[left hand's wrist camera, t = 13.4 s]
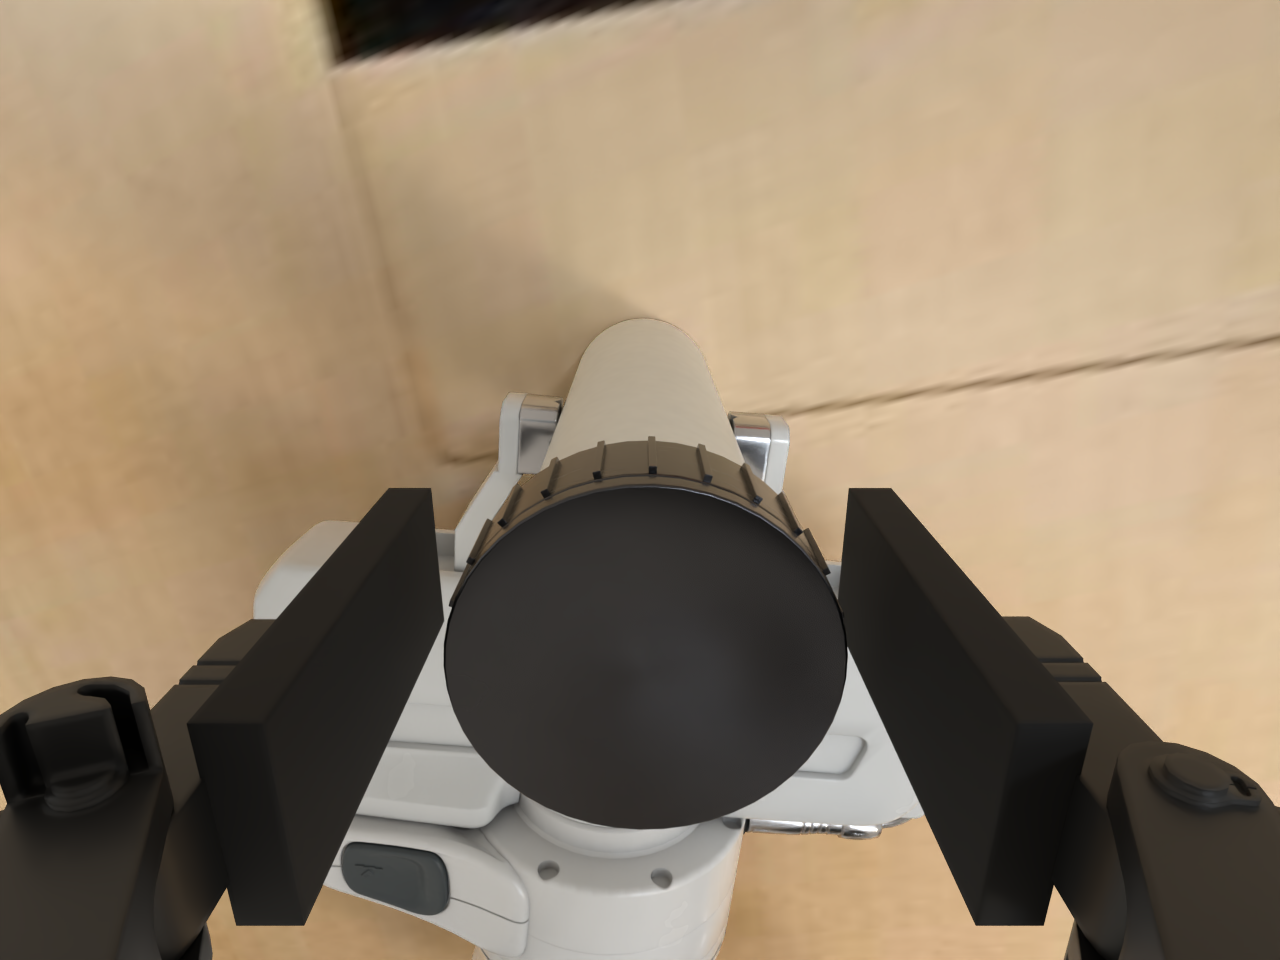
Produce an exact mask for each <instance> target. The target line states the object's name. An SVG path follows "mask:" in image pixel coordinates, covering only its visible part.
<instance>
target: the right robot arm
mask: <svg viewBox="0 0 1280 960" xmlns="http://www.w3.org/2000/svg"><path fill="white" fill-rule="evenodd" d="M562 410H563V398H562V397H554V396H544V395H535V394H527V393H513V392H509V393H508V395H507V396H506V398H505V399H504V401H503V403H502V408H501V414H500V423H499V460H498V461H497V462H496V464H495V465H494V467H493V468H492V470H491V471H490V473H489V474H488V476H487V477H486V479H485V480H484V482H483V483H482V485H481V486H480V488H479V489H478V491H477V492H476V494H475V495H474V497H473V498H472V500H471V502H470V503H469V505H468V507H467V509H466V510H465V512H464V514H463V516H462V518H461V519H460V521H459V523H458V525H457V527H456V528H455V530H447V529H435V533H436V542H437V552H438V562H439V572H440V582H441V592H442V602H443V612H444V623H443V625H442V627H441V629H440V632H439V634H438V636H437V638H436V640H435V642H434V645H433V647H432V649H431V651H430V653H429V656H428V658H427V660H426V662H425V664H424V666H423V669H422V671H421V673H420V675H419V677H418V679H417V682H416V684H415V686H414V688H413V690H412V692H411V695H410V697H409V699H408V701H407V703H406V705H405V708H404V710H403V712H402V714H401V716H400V718H399V721H398V723H397V725H396V727H395V729H394V732H393V734H392V736H391V738H390V740H389V742H388V745H387V747H386V749H385V751H384V753H383V755H382V758H381V760H380V762H379V764H378V766H377V768H376V771H375V773H374V775H373V777H372V779H371V781H370V784H369V786H368V788H367V790H366V792H365V794H364V797H363V799H362V801H361V803H360V805H359V808H358V810H357V812H356V814H355V816H354V818H353V821H352V823H351V825H350V827H349V829H348V831H347V834H346V836H345V838H344V840H343V842H342V844H341V847H340V849H339V851H338V853H337V855H336V857H335V860H334V862H333V864H332V866H331V868H330V870H329V873H328V875H327V877H326V879H325V881H324V883H323V885H324V886H327V887H329V888H331V889H334V890H337V891H340V892H343V893H346V894H349V895H353V896H356V897H359V898H362V899H366V900H369V901H372V902H375V903H378V904H381V905H384V906H387V907H390V908H393V909H396V910H398V911H401V912H404V913H407V914H410V915H412V916H415V917H417V918H420V919H422V920H425V921H427V922H430V923H432V924H434V925H436V926H438V927H441V928H443V929H445V930H447V931H449V932H451V933H453V934H455V935H457V936H459V937H461V938H463V939H465V940H467V941H468V942H470V943H472V944H474V945H476V946H475V949H474V953H473V956H472V959H471V960H716V958H717V956H718V953H719V951H720V948H721V945H722V942H723V940H724V937H725V932H726V927H727V922H728V917H729V911H730V906H731V900H732V894H733V889H734V883H735V877H736V872H737V865H738V860H739V855H740V849H741V843H742V837H743V834H744V833H745V832H753V833H766V834H780V835H800V834H801V835H807V834H826V835H837V836H838V837H839V838H844V839H851V840H866V839H873V838H878V837H879V836H880V834H881V832H882V828H890V827H894V826H898V825H901V824H903V823H905V822H907V821H909V820H911V819H916V818H920V817H922V816H923V815H924V812H923V810H922V808H921V805H920V803H919V801H918V799H917V797H916V794H915V792H914V790H913V788H912V786H911V784H910V781H909V779H908V777H907V775H906V773H905V771H904V768H903V766H902V764H901V762H900V760H899V758H898V755H897V753H896V751H895V749H894V747H893V745H892V742H891V740H890V738H889V736H888V734H887V732H886V729H885V727H884V725H883V723H882V721H881V718H880V716H879V714H878V712H877V710H876V708H875V705H874V703H873V701H872V699H871V697H870V695H869V692H868V690H867V688H866V686H865V684H864V682H863V679H862V677H861V675H860V673H859V671H858V669H857V666H856V664H855V662H854V660H853V658H852V656H851V653H850V651H849V649H848V647H847V649H848V662H847V676H846V682H845V686H844V691H843V695H842V699H841V702H840V705H839V708H838V710H837V713H836V715H835V718H834V720H833V723H832V724H831V726H830V728H829V730H828V732H827V733H826V735H825V737H824V739H823V740H822V742H821V743H820V745H819V746H818V747H817V749H816V750H815V751H814V753H813V754H812V755H811V757H810V758H809V759H808V760H807V761H806V762H805V763H804V764H803V765H802V766H801V767H800V768H799V769H798V771H797V772H796V773H795V774H794V775H793V776H791V777H790V778H789V779H788V780H786V781H785V782H784V783H783V784H781V785H780V786H779V787H778V788H776V789H775V790H774V791H772V792H771V793H769V794H767V795H766V796H764V797H763V798H761V799H759V800H758V801H756V802H755V803H753V804H750V805H748V806H746V807H744V808H742V809H740V810H738V811H736V812H734V813H731V814H728V815H725V816H722V817H719V818H717V819H714V820H711V821H707V822H703V823H698V824H694V825H690V826H684V827H676V828H668V829H649V830H636V829H623V828H613V827H607V826H602V825H596V824H591V823H588V822H584V821H581V820H577V819H574V818H571V817H568V816H565V815H563V814H560V813H558V812H555V811H553V810H551V809H548V808H546V807H544V806H542V805H540V804H539V803H537V802H535V801H533V800H531V799H530V798H528V797H526V796H525V795H523V794H522V793H520V792H519V791H517V790H516V789H515V788H513V787H512V786H510V785H509V784H508V783H506V782H505V781H504V780H503V779H502V778H501V777H500V776H499V775H498V774H496V773H495V772H494V771H493V770H492V769H491V768H490V767H489V766H488V765H487V764H486V762H485V761H484V760H483V759H482V758H481V757H480V755H479V754H478V753H477V752H476V751H475V749H474V748H473V746H472V745H471V743H470V741H469V740H468V738H467V737H466V735H465V734H464V732H463V730H462V728H461V726H460V724H459V722H458V720H457V718H456V715H455V713H454V711H453V708H452V704H451V701H450V698H449V694H448V691H447V687H446V680H445V673H444V666H443V665H444V639H445V633H446V627H447V621H448V618H449V615H450V612H451V609H452V607H449V602H450V599H451V597H452V595H453V593H454V591H455V589H456V586H457V584H458V582H459V580H460V578H461V576H462V574H463V572H464V569H465V567H466V565H467V563H466V561H467V559H468V556H469V554H470V552H471V550H472V548H473V546H474V544H475V542H476V540H477V538H478V535H479V533H480V531H481V529H482V527H483V525H484V523H485V521H486V520H487V518H488V519H490V520H493V519H494V517H495V516H496V514H497V513H498V511H499V510H500V509H501V507H502V506H503V503H504V502H505V500H506V499H507V497H508V496H509V494H510V492H511V490H512V488H513V487H514V486H515V485H516V484H517V482H518V481H519V479H520V478H521V476H522V475H523V474H537V473H539V472H540V470H541V467H542V465H543V462H544V459H545V456H546V454H547V451H548V448H549V445H550V443H551V440H552V437H553V435H554V432H555V429H556V426H557V424H558V421H559V418H560V415H561V413H562ZM728 420H729V422H730V425H731V428H732V430H733V433H734V435H735V438H736V441H737V443H738V446H739V448H740V451H741V454H742V456H743V459H744V461H745V463H746V464H748V465H750V467H751V470H752V472H753V474H754V475H756V476H757V477H758V478H760V479H761V480H763V481H764V482H765V483H766V484H767V485H768V486H769V487H770V488H771V489H772V490H774V491H775V492H776V493H777V494H779V493H781V492H783V493H784V491H783V489H782V487H783V481H784V475H785V469H786V463H787V456H788V450H789V444H790V430H789V426H788V424H787V423H786V421H785V420H784V418H783V416H780V415H768V414H757V413H743V412H729V414H728ZM784 494H785V493H784ZM358 523H359V522H351V521H339V520H326V521H322V522H320V523H317V524H316V525H314V526H313V527H312V528H310V529H309V530H308V531H307V532H306V533H305V534H304V535H302V536H301V537H300V538H299V539H298V540H297V541H295V542H294V543H293V544H292V545H291V546H290V547H289V548H288V549H287V550H286V551H285V552H284V553H283V554H282V555H281V556H280V557H279V558H278V559H277V560H276V562H275V563H274V564H273V565H272V566H271V567H270V569H269V570H268V571H267V572H266V574H265V575H264V577H263V578H262V580H261V582H260V584H259V585H258V588H257V590H256V593H255V597H254V604H253V619H277V618H278V616H279V615H280V614H281V613H282V612H283V611H284V609H285V608H286V607H287V606H288V605H289V604H290V603H291V601H292V600H293V599H294V598H295V597H296V596H297V594H298V593H299V592H300V591H301V590H302V589H303V587H304V586H305V585H306V584H307V583H308V582H309V580H310V579H311V578H312V577H313V576H314V575H315V573H316V572H317V571H318V570H319V569H320V568H321V566H322V565H323V564H324V563H325V562H326V561H327V559H328V558H329V557H330V556H331V555H332V554H333V553H334V551H335V550H336V549H337V548H338V547H339V546H340V544H341V543H342V542H343V541H344V540H345V539H346V537H347V536H348V535H349V534H350V533H351V532H352V530H353V529H354V528H355V527H356V526H357V525H358ZM825 562H826V564H827V566H828V568H829V570H830V572H831V573H830V574H828V575H826V577H827V579H828V581H829V583H830V585H831V587H832V589H833V591H834V593H835V595H836V597H837V599H838V592H839V582H840V572H841V562H840V561H828V560H825Z"/></svg>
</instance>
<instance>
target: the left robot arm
mask: <svg viewBox="0 0 1280 960" xmlns="http://www.w3.org/2000/svg"><path fill="white" fill-rule="evenodd" d="M838 601H839V603H840V606H841V608H842V610H843V612H844V618H843V621H844V626H845V630H846V637H847V647H848V649H849V651H850V653H851V656H852V658H853V660H854V662H855V664H856V666H857V669H858V671H859V673H860V675H861V677H862V679H863V682H864V684H865V686H866V688H867V690H868V692H869V695H870V697H871V699H872V701H873V703H874V705H875V708H876V710H877V712H878V714H879V716H880V718H881V721H882V723H883V725H884V727H885V729H886V732H887V734H888V736H889V738H890V740H891V742H892V745H893V747H894V749H895V751H896V753H897V755H898V758H899V760H900V762H901V764H902V766H903V768H904V771H905V773H906V775H907V777H908V779H909V781H910V784H911V786H912V788H913V790H914V792H915V794H916V797H917V799H918V801H919V803H920V805H921V808H922V810H923V812H924V814H925V816H926V818H927V821H928V823H929V825H930V827H931V829H932V831H933V834H934V836H935V838H936V840H937V842H938V844H939V847H940V849H941V851H942V853H943V855H944V857H945V860H946V862H947V864H948V866H949V868H950V870H951V873H952V875H953V877H954V879H955V881H956V884H957V886H958V888H959V890H960V892H961V894H962V897H963V899H964V901H965V903H966V905H967V907H968V910H969V912H970V914H971V916H972V918H973V920H974V923H975V925H976V926H1044V922H1045V918H1046V914H1047V910H1048V906H1049V902H1050V898H1051V894H1052V890H1053V886H1055V887H1056V889H1057V891H1058V892H1059V894H1060V896H1061V897H1062V899H1063V900H1064V902H1065V904H1066V905H1067V907H1068V909H1069V910H1070V912H1071V914H1072V915H1073V917H1074V923H1073V927H1072V931H1071V934H1070V938H1069V942H1068V946H1067V950H1066V953H1065V957H1064V960H1280V807H1277V806H1274V804H1273V802H1272V801H1271V800H1270V798H1269V797H1268V796H1267V795H1266V793H1265V792H1264V791H1263V789H1262V788H1261V787H1260V786H1259V784H1258V783H1256V782H1255V781H1253V780H1252V779H1251V778H1249V777H1248V776H1247V775H1245V774H1244V773H1243V772H1241V771H1240V770H1239V769H1237V768H1236V767H1235V766H1233V765H1231V764H1229V763H1227V762H1225V761H1223V760H1221V759H1219V758H1217V757H1215V756H1213V755H1210V754H1208V753H1206V752H1203V751H1200V750H1197V749H1193V748H1190V747H1187V746H1184V745H1180V744H1177V743H1168V742H1163V741H1162V740H1161V739H1160V738H1159V737H1158V736H1157V735H1156V734H1155V733H1154V732H1153V731H1152V730H1151V729H1150V727H1149V726H1148V725H1147V724H1146V723H1145V722H1144V721H1143V720H1142V719H1141V718H1140V717H1139V716H1138V715H1137V714H1136V713H1135V712H1134V711H1133V710H1132V709H1131V708H1130V707H1129V706H1128V705H1127V704H1126V702H1125V701H1124V700H1123V699H1122V698H1121V697H1120V696H1119V695H1118V694H1117V693H1116V692H1115V691H1114V690H1113V689H1112V688H1111V687H1110V686H1109V685H1108V684H1107V683H1106V682H1102V681H1101V676H1100V675H1099V674H1098V673H1097V672H1096V671H1095V670H1094V669H1093V668H1092V667H1091V666H1090V665H1089V664H1088V663H1084V662H1083V658H1082V657H1081V656H1080V655H1079V653H1078V652H1077V651H1076V650H1075V649H1074V648H1073V647H1072V646H1071V645H1070V644H1069V643H1068V642H1067V641H1066V640H1065V639H1064V638H1063V637H1062V636H1061V635H1059V634H1058V633H1056V632H1054V631H1052V630H1051V629H1049V628H1047V627H1046V626H1044V625H1042V624H1041V623H1039V622H1037V621H1035V620H1034V619H1032V618H1030V617H1002V616H1001V615H1000V614H999V613H998V612H997V611H996V609H995V608H994V607H993V606H992V605H991V604H990V603H989V601H988V600H987V599H986V598H985V597H984V596H983V594H982V593H981V592H980V591H979V590H978V589H977V587H976V586H975V585H974V584H973V583H972V582H971V580H970V579H969V578H968V577H967V576H966V575H965V573H964V572H963V571H962V570H961V569H960V568H959V566H958V565H957V564H956V563H955V562H954V561H953V560H952V558H951V557H950V556H949V555H948V554H947V553H946V551H945V550H944V549H943V548H942V547H941V546H940V544H939V543H938V542H937V541H936V540H935V539H934V537H933V536H932V535H931V534H930V533H929V532H928V530H927V529H926V528H925V527H924V526H923V525H922V523H921V522H920V521H919V520H918V519H917V518H916V516H915V515H914V514H913V513H912V512H911V511H910V510H909V508H908V507H907V506H906V505H905V504H904V503H903V501H902V500H901V499H900V498H899V497H898V496H897V494H896V493H895V492H894V491H893V490H892V489H891V488H849V493H848V503H847V513H846V523H845V533H844V542H843V552H842V562H841V572H840V582H839V592H838ZM443 623H444V612H443V602H442V592H441V582H440V572H439V562H438V552H437V542H436V533H435V523H434V513H433V503H432V493H431V488H389V489H388V490H387V491H386V492H385V493H384V494H383V496H382V497H381V498H380V499H379V500H378V501H377V503H376V504H375V505H374V506H373V507H372V508H371V510H370V511H369V512H368V513H367V514H366V515H365V516H364V518H363V519H362V520H361V521H360V522H359V523H358V525H357V526H356V527H355V528H354V529H353V530H352V532H351V533H350V534H349V535H348V536H347V537H346V539H345V540H344V541H343V542H342V543H341V544H340V546H339V547H338V548H337V549H336V550H335V551H334V553H333V554H332V555H331V556H330V557H329V558H328V559H327V561H326V562H325V563H324V564H323V565H322V566H321V568H320V569H319V570H318V571H317V572H316V573H315V575H314V576H313V577H312V578H311V579H310V580H309V582H308V583H307V584H306V585H305V586H304V587H303V589H302V590H301V591H300V592H299V593H298V594H297V596H296V597H295V598H294V599H293V600H292V601H291V603H290V604H289V605H288V606H287V607H286V608H285V609H284V611H283V612H282V613H281V614H280V615H279V616H278V618H277V619H251V620H249V621H248V622H246V623H244V624H243V625H241V626H239V627H238V628H236V629H234V630H232V631H231V632H229V633H227V634H226V635H224V636H222V637H221V638H219V639H218V640H217V641H216V642H215V643H214V644H213V645H212V646H211V647H210V648H209V649H208V650H207V652H206V653H205V654H204V655H203V656H202V657H201V658H200V659H199V660H198V661H197V662H198V663H197V666H192V667H191V668H190V669H189V670H188V671H187V673H186V674H185V675H184V676H183V677H182V678H181V679H180V680H179V681H180V682H179V685H174V686H173V687H172V688H171V689H170V690H169V691H168V692H167V694H166V695H165V696H164V697H163V698H162V699H161V700H160V701H159V702H158V703H157V704H156V705H155V706H154V707H153V708H152V709H151V710H150V708H149V704H148V700H147V697H146V693H145V689H144V687H142V686H141V685H139V684H138V683H136V682H135V681H134V680H132V679H125V678H118V677H102V678H92V679H83V680H79V681H75V682H72V683H68V684H64V685H61V686H57V687H53V688H51V689H48V690H46V691H44V692H41V693H39V694H37V695H35V696H32V697H30V698H28V699H25V700H23V701H21V702H20V703H18V704H17V705H15V706H14V707H12V708H11V709H9V710H7V711H6V712H4V713H3V714H1V715H0V785H1V788H2V790H3V793H4V796H5V799H6V801H7V805H6V807H5V809H4V810H2V811H0V960H212V954H213V953H212V946H211V939H210V934H209V931H208V927H207V923H206V921H207V920H208V918H209V916H210V915H211V913H212V911H213V910H214V908H215V906H216V905H217V903H218V901H219V900H220V898H221V896H222V895H223V893H224V891H225V890H226V888H227V890H228V894H229V898H230V902H231V906H232V910H233V914H234V918H235V922H236V926H304V925H305V923H306V920H307V918H308V916H309V914H310V912H311V910H312V907H313V905H314V903H315V901H316V899H317V897H318V894H319V892H320V890H321V888H322V886H323V883H324V881H325V879H326V877H327V875H328V873H329V870H330V868H331V866H332V864H333V862H334V860H335V857H336V855H337V853H338V851H339V849H340V847H341V844H342V842H343V840H344V838H345V836H346V834H347V831H348V829H349V827H350V825H351V823H352V821H353V818H354V816H355V814H356V812H357V810H358V808H359V805H360V803H361V801H362V799H363V797H364V794H365V792H366V790H367V788H368V786H369V784H370V781H371V779H372V777H373V775H374V773H375V771H376V768H377V766H378V764H379V762H380V760H381V758H382V755H383V753H384V751H385V749H386V747H387V745H388V742H389V740H390V738H391V736H392V734H393V732H394V729H395V727H396V725H397V723H398V721H399V718H400V716H401V714H402V712H403V710H404V708H405V705H406V703H407V701H408V699H409V697H410V695H411V692H412V690H413V688H414V686H415V684H416V682H417V679H418V677H419V675H420V673H421V671H422V669H423V666H424V664H425V662H426V660H427V658H428V656H429V653H430V651H431V649H432V647H433V645H434V642H435V640H436V638H437V636H438V634H439V632H440V629H441V627H442V625H443Z"/></svg>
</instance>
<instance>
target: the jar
mask: <svg viewBox="0 0 1280 960" xmlns="http://www.w3.org/2000/svg"><path fill="white" fill-rule="evenodd" d="M648 436H655V440H656V441H663V442H673V443H679V444H684V445H688V446H693V447H697V446H698V444H703V445H705V447H706V450H707V451H709V452H712V453H715V454H718V455H720V456H723V457H725V458H727V459H729V460H731V461H733V462H735V463H736V464H738V465H740V466H742V465H743V463H745V461H744V459H743V456H742V454H741V451H740V448H739V446H738V443H737V441H736V438H735V435H734V433H733V430H732V428H731V425H730V422H729V420H728V417H727V415H726V412H725V409H724V407H723V404H722V402H721V399H720V397H719V394H718V391H717V389H716V386H715V384H714V381H713V378H712V376H711V373H710V371H709V368H708V365H707V363H706V360H705V358H704V356H703V354H702V352H701V350H700V349H699V347H698V346H697V345H696V343H695V342H694V341H693V340H692V339H691V338H690V337H689V336H688V335H687V334H686V333H684V332H683V331H682V330H680V329H679V328H677V327H675V326H673V325H671V324H669V323H666V322H664V321H660V320H655V319H647V318H641V319H631V320H626V321H623V322H620V323H617V324H615V325H613V326H611V327H609V328H608V329H606V330H604V331H603V332H602V333H600V334H599V335H598V336H597V337H596V338H595V339H594V340H593V341H592V342H591V343H590V345H589V346H588V348H587V349H586V350H585V352H584V354H583V356H582V358H581V361H580V363H579V366H578V369H577V372H576V374H575V377H574V380H573V382H572V385H571V388H570V391H569V393H568V396H567V399H566V402H565V404H564V407H563V410H562V413H561V415H560V418H559V421H558V424H557V426H556V429H555V432H554V435H553V437H552V440H551V443H550V445H549V448H548V451H547V454H546V456H545V459H544V462H543V465H542V467H541V470H540V471H542V470H544V469H545V468H547V467H549V465H550V462H551V459H553V458H555V457H558V459H559V460H561V459H564V458H566V457H568V456H571V455H573V454H575V453H578V452H580V451H584V450H587V449H591V448H594V447H597V443H598V442H599V441H605V444H612V443H619V442H625V441H648Z"/></svg>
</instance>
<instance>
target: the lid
mask: <svg viewBox="0 0 1280 960" xmlns="http://www.w3.org/2000/svg"><path fill="white" fill-rule="evenodd" d="M466 563H467V565H466V567H465V569H464V572H463V574H462V576H461V578H460V580H459V582H458V584H457V586H456V589H455V591H454V593H453V595H452V597H451V599H450V602H449V607H452V609H451V612H450V615H449V618H448V621H447V627H446V633H445V639H444V665H443V666H444V673H445V680H446V687H447V691H448V694H449V698H450V701H451V704H452V708H453V711H454V713H455V715H456V718H457V720H458V722H459V724H460V726H461V728H462V730H463V732H464V734H465V735H466V737H467V738H468V740H469V741H470V743H471V745H472V746H473V748H474V749H475V751H476V752H477V753H478V754H479V755H480V757H481V758H482V759H483V760H484V761H485V762H486V764H487V765H488V766H489V767H490V768H491V769H492V770H493V771H494V772H495V773H496V774H498V775H499V776H500V777H501V778H502V779H503V780H504V781H505V782H506V783H508V784H509V785H510V786H512V787H513V788H515V789H516V790H517V791H519V792H520V793H522V794H523V795H525V796H526V797H528V798H530V799H531V800H533V801H535V802H537V803H539V804H540V805H542V806H544V807H546V808H548V809H551V810H553V811H555V812H558V813H560V814H563V815H565V816H568V817H571V818H574V819H577V820H581V821H584V822H588V823H591V824H596V825H602V826H607V827H613V828H623V829H636V830H649V829H668V828H676V827H684V826H690V825H694V824H698V823H703V822H707V821H711V820H714V819H717V818H719V817H722V816H725V815H728V814H731V813H734V812H736V811H738V810H740V809H742V808H744V807H746V806H748V805H750V804H753V803H755V802H756V801H758V800H759V799H761V798H763V797H764V796H766V795H767V794H769V793H771V792H772V791H774V790H775V789H776V788H778V787H779V786H780V785H781V784H783V783H784V782H785V781H786V780H788V779H789V778H790V777H791V776H793V775H794V774H795V773H796V772H797V771H798V769H799V768H800V767H801V766H802V765H803V764H804V763H805V762H806V761H807V760H808V759H809V758H810V757H811V755H812V754H813V753H814V751H815V750H816V749H817V747H818V746H819V745H820V743H821V742H822V740H823V739H824V737H825V735H826V733H827V732H828V730H829V728H830V726H831V724H832V723H833V720H834V718H835V715H836V713H837V710H838V708H839V705H840V702H841V699H842V695H843V691H844V686H845V682H846V676H847V662H848V649H847V637H846V630H845V626H844V621H843V618H844V612H843V610H842V608H841V606H840V603H839V601H838V599H837V597H836V595H835V593H834V591H833V589H832V587H831V585H830V583H829V581H828V579H827V577H826V575H828V574H830V573H831V572H830V570H829V568H828V566H827V564H826V562H825V560H824V558H823V556H822V554H821V552H820V550H819V548H818V546H817V544H816V542H815V540H814V538H813V536H812V534H811V532H810V530H809V528H807V529H805V530H803V528H802V527H801V525H800V523H799V522H798V520H797V518H796V516H795V514H794V512H793V510H792V507H791V505H790V503H789V501H788V499H787V497H786V495H785V494H784V493H783V492H781V493H779V494H777V493H776V492H775V491H774V490H772V489H771V488H770V487H769V486H768V485H767V484H766V483H765V482H764V481H763V480H761V479H760V478H758V477H757V476H756V475H754V474H753V472H752V470H751V467H750V465H748V464H746V463H743V465H742V466H740V465H738V464H736V463H735V462H733V461H731V460H729V459H727V458H725V457H723V456H720V455H718V454H715V453H712V452H709V451H707V450H706V447H705V445H703V444H698V446H697V447H693V446H688V445H684V444H679V443H673V442H663V441H656V440H655V436H648V441H625V442H619V443H612V444H605V441H599V442H598V443H597V447H594V448H591V449H587V450H584V451H580V452H578V453H575V454H573V455H571V456H568V457H566V458H564V459H561V460H559V459H558V457H555V458H553V459H551V462H550V465H549V467H547V468H545V469H544V470H542V471H540V472H539V473H537V474H536V475H535V476H533V477H532V478H531V479H530V480H528V481H527V482H526V483H525V484H523V485H522V486H521V487H520V486H519V485H518V484H516V485H515V486H514V487H513V488H512V490H511V492H510V495H509V497H508V499H507V501H506V502H505V503H504V504H503V506H502V507H501V509H500V510H499V511H498V513H497V514H496V516H495V517H494V519H493V520H490V519H488V518H487V520H486V521H485V523H484V525H483V527H482V529H481V531H480V533H479V535H478V538H477V540H476V542H475V544H474V546H473V548H472V550H471V552H470V554H469V556H468V559H467V561H466Z"/></svg>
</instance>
